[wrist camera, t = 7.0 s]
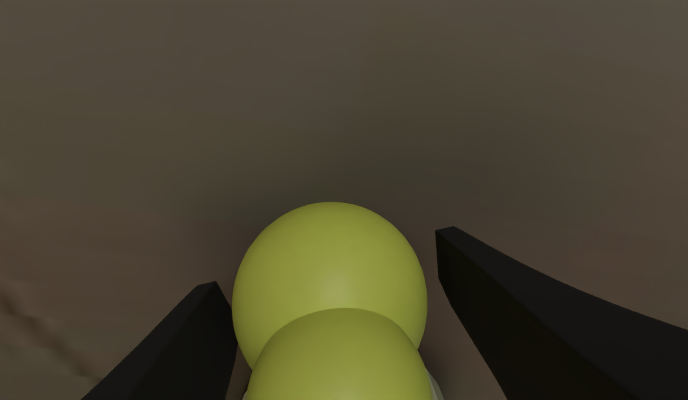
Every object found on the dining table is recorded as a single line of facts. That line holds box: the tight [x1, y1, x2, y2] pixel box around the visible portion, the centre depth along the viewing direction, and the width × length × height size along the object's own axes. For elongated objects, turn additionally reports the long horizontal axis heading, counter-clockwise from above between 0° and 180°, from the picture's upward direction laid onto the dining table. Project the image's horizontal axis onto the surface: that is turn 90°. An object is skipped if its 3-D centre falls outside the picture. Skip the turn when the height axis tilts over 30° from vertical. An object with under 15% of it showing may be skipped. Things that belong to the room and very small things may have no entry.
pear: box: [232, 202, 433, 400], centre depth 7 cm, size 6×6×9 cm
